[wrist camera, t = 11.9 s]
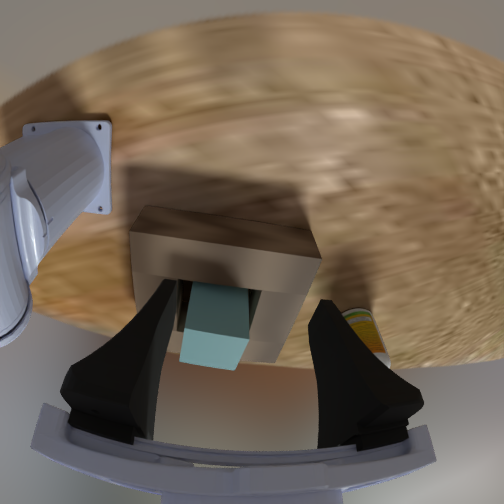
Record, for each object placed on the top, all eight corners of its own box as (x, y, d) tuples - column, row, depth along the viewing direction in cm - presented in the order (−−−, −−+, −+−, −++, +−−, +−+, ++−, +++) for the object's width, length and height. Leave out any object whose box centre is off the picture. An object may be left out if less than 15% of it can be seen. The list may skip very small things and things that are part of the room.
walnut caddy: (150, 318, 29) (142, 346, 26) (145, 205, 22) (129, 231, 18) (271, 334, 31) (274, 363, 28) (311, 230, 23) (322, 259, 20)
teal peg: (190, 293, 27) (179, 361, 21) (197, 258, 25) (184, 328, 18) (235, 302, 28) (234, 370, 22) (247, 268, 26) (249, 339, 19)
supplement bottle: (321, 323, 31) (338, 399, 23) (360, 299, 29) (389, 374, 21) (342, 341, 33) (360, 408, 25) (378, 320, 31) (404, 387, 23)
